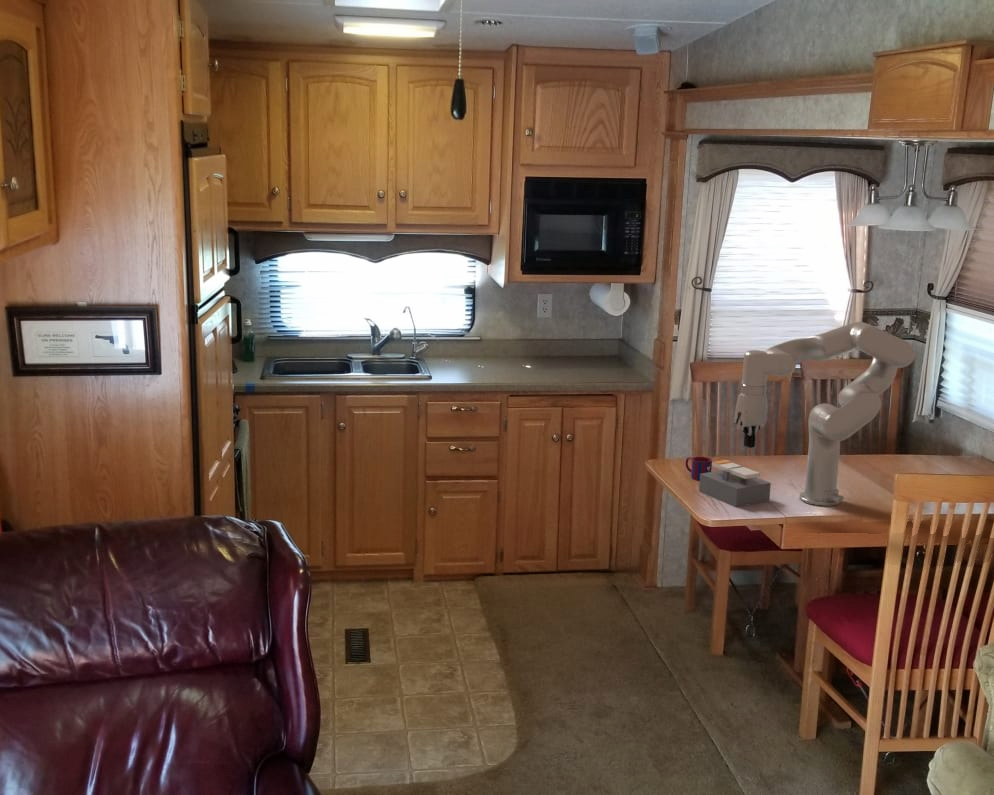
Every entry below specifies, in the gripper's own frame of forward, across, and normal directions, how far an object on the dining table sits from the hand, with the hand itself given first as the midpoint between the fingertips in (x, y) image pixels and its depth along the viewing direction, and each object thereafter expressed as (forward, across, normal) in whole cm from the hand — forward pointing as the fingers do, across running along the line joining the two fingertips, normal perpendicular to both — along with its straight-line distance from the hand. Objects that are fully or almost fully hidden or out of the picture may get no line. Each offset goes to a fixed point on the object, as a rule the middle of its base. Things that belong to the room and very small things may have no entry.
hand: (749, 446), depth 325 cm
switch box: (+18, 0, -6) cm, 19 cm away
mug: (+19, -4, -28) cm, 34 cm away
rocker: (+9, 0, -6) cm, 11 cm away
